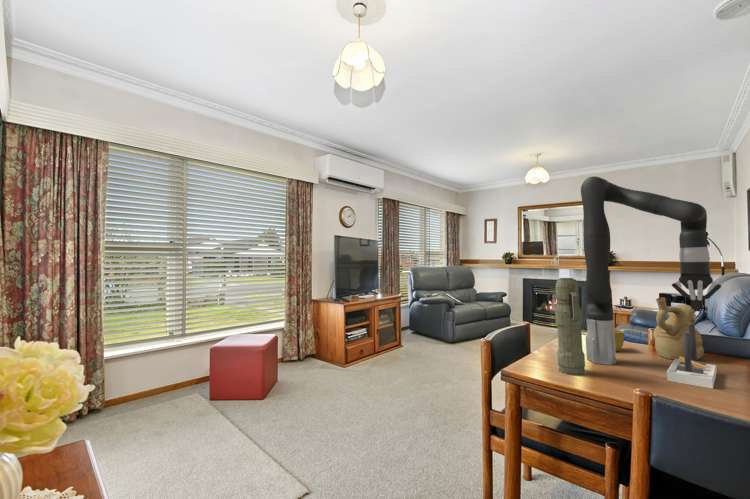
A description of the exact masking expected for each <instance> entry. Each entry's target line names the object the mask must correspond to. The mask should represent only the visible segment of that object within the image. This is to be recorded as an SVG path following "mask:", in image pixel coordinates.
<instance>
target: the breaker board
mask: <svg viewBox="0 0 750 499" xmlns="http://www.w3.org/2000/svg"><path fill="white" fill-rule="evenodd" d="M693 361H694V360H693ZM694 362H697V363H700V364H702V365H705V366H707V367H706V369H705V371H704V369H703V368H697V367H694V366H693V367H692V372H687V371H685V363H683V362H681V361H678V359H675V360H673V361H672V363H671V364H670V366H669V367H668V368H667V370H666V381H668V382H673V383H680V384H685V385H690V386H691V385H692V386H695V387H696V386H697V387H702V388H708V389H711V390H712V389H714V386H715V382H716V378H717V375H716V374H718V373H717V364H716V365H715V364H710V363H706V361H699V360H697V361H694Z"/></svg>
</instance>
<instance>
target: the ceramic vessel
mask: <svg viewBox="0 0 750 499" xmlns="http://www.w3.org/2000/svg"><path fill="white" fill-rule="evenodd" d="M655 300H656V303H657V308H658V310H657V313H656V316H655V317H656V318H655V319H656V324H657V325H656V326H655V328H654V329H653V333H652V337H653V339H654V347H655V351H656V353H657V355H659V357H661V358H665V359H668V360H669V359H670V360H673V361H674V360H675V359H679V357H680V356H681V357H684V345H683V333H684V332H687V333H689V325H694V324H695V322H696V320H697V319H696V318H697V314H695V313H696V312H697V311H694V309H692V308H691V305H689V304H678V305H677V304H676V305H674V306H672V305H671V306H668V304H667V300H666V298H665V297H657V298H655ZM667 314H668V318H667V319H666V320H665V317H666V315H667ZM695 337H696V351H697V360H699V359H701V358H702V357H703V355H704V353H705V348H704V347H703V338H702V335H701V333H700V331H699V329H697V328H696V327H695ZM689 338H690V337H689ZM690 352H691V350H690ZM692 361H694V360H692Z"/></svg>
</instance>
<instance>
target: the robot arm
mask: <svg viewBox="0 0 750 499" xmlns="http://www.w3.org/2000/svg"><path fill="white" fill-rule="evenodd" d="M580 196H581V202H582V211H583V223H582V224H583V227H582V229H583V232H582V233H583V237H582V238H583V240H582V241H583V252H584V257H585V258H584V260H585V264H586V277H585V286H584V295H585V310H586V311H585V315H586V316H585V317H586V329H587V333H586V334H587V335H586V336H585V350H586V360H588V361H589V362H591V363H593V364H598V365H599V364H601V365H616V364H617V353H616V352H617V351H616V350H615V335H614V329H615V325H614V324H615V322H614V321H615V320H614V306H613V293H612V292H613V291H612V290H613V289H612V287H611V282H610V275H609V273H610V272H609V264H610V263H609V262H610V259H611V258H610V256H611V231H610V226H609V223H608V222H609V221H608V220H607V215H606V213H605V202H609V203H615V204H619V205H624V206H626V207H629V208H633V209H636V210H639V211H642V212H645V213H648V214H652V215H656V216H661V217H667V218H669V219H672V220H676V221H678V222H680V233H679V237H678V239H679V240H678V241H679V253H678V255H679V256H678V257H679V271H680V273H679V274H680V276H679V277H678V281H676V282H673V283H672V284H671V286H672V287H673V289H675V291H677V293H679V295H681V296H682V297H683V298H685V299H687V300H689V301H690V306H691V308H692V309H694V311H696V312H701V311H702V310H703V309H704V303H703V302H704V300H709V299H710V298H711V297H712V296H714V294H715V293H717V292H718V291H719V290H720V289H721V288H722V284H720V283H718V282H715V281H714V279H713V277H712V274H711V266H710V265H711V264H710V263H711V261H710V260H711V257H710V252H709V248H708V247H709V246H708V236H707V222H708V221H707V220H708V219H707V218H708V214H707V210H706V208H705V207H704V206H702V204H699V203H697V202H694V201H693V202H692V201H687V200H682V199H677V198H672V197H669V196H667V195H661V194H657V193H654V192H648V191H643V190H642V191H641V190H635V189H630V188H626V187H622V186H620V185H617V184H614V183H612V182H610V181H608V180H606V179H605V178H602V177H600V176H595V175H594V176H590V177H587V178H586V179H584V180H583V182H582V183H581V186H580ZM682 285H683V286H682ZM710 285H711V286H710ZM709 286H710V288H711V290H710V291H709V292H707V294H704V290H706V289H707V288H708V287H709ZM682 287H685V289H687V290H688V293H689V294H688V293H687V291H685V290H684V289H683V288H682ZM696 291H697V295H696Z"/></svg>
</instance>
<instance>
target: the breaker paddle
mask: <svg viewBox="0 0 750 499" xmlns="http://www.w3.org/2000/svg"><path fill="white" fill-rule="evenodd" d="M678 361H681V362H683V363H685V359H684V357H681V356H680V357H679V359H678ZM691 365H692V367H693V366H694V367H697V368H703V369H704V371H705V369H706V367H707V366H705V365H702V364H700V363H697V362H694V360H693V361H692V360H691Z"/></svg>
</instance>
